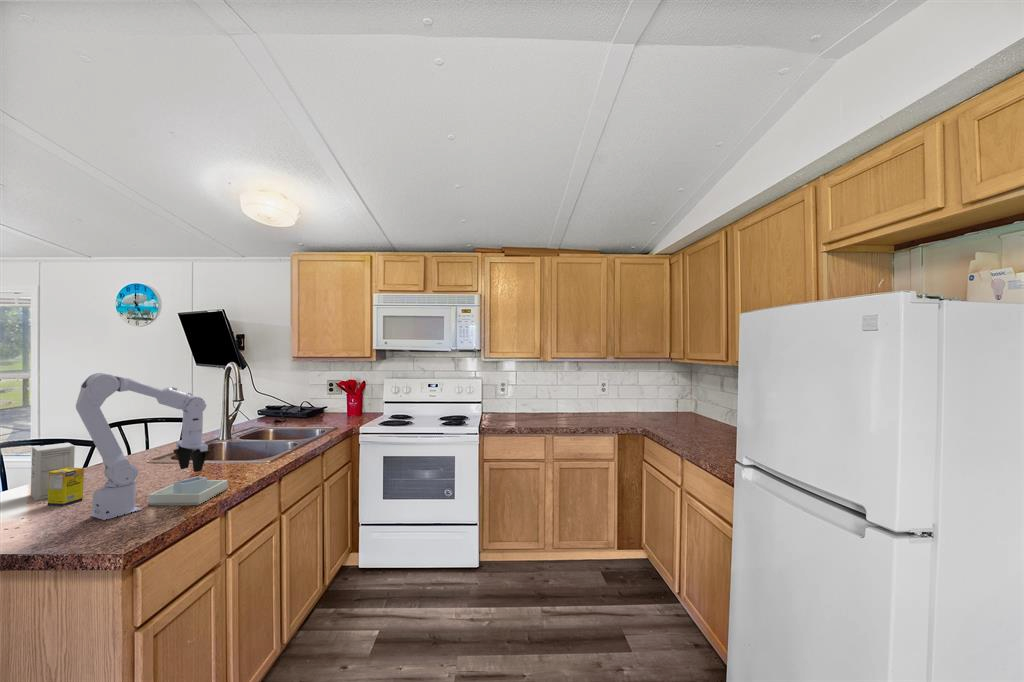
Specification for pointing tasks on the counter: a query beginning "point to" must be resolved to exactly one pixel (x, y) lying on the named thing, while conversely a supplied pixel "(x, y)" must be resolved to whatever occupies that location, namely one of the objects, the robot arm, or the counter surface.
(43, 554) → the counter surface
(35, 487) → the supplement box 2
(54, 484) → the supplement box
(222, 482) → the pale green tray
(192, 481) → the small crate
